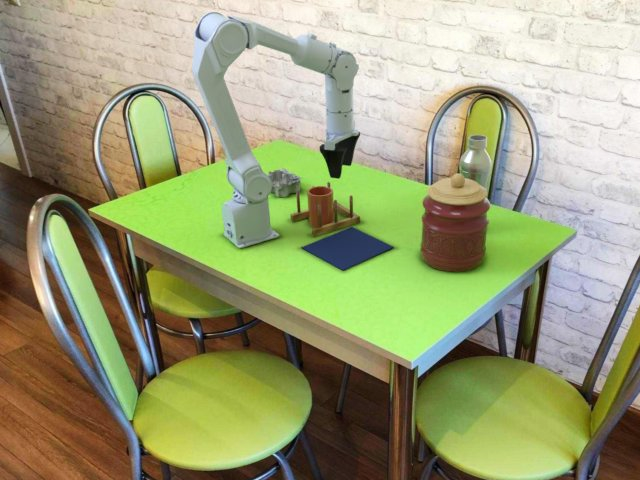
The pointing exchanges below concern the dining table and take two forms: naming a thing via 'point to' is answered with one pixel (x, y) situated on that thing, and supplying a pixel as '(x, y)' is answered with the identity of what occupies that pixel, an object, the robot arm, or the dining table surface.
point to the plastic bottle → (476, 161)
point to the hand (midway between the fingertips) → (341, 171)
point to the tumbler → (323, 198)
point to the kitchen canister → (454, 224)
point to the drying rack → (336, 225)
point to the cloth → (347, 248)
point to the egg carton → (284, 182)
